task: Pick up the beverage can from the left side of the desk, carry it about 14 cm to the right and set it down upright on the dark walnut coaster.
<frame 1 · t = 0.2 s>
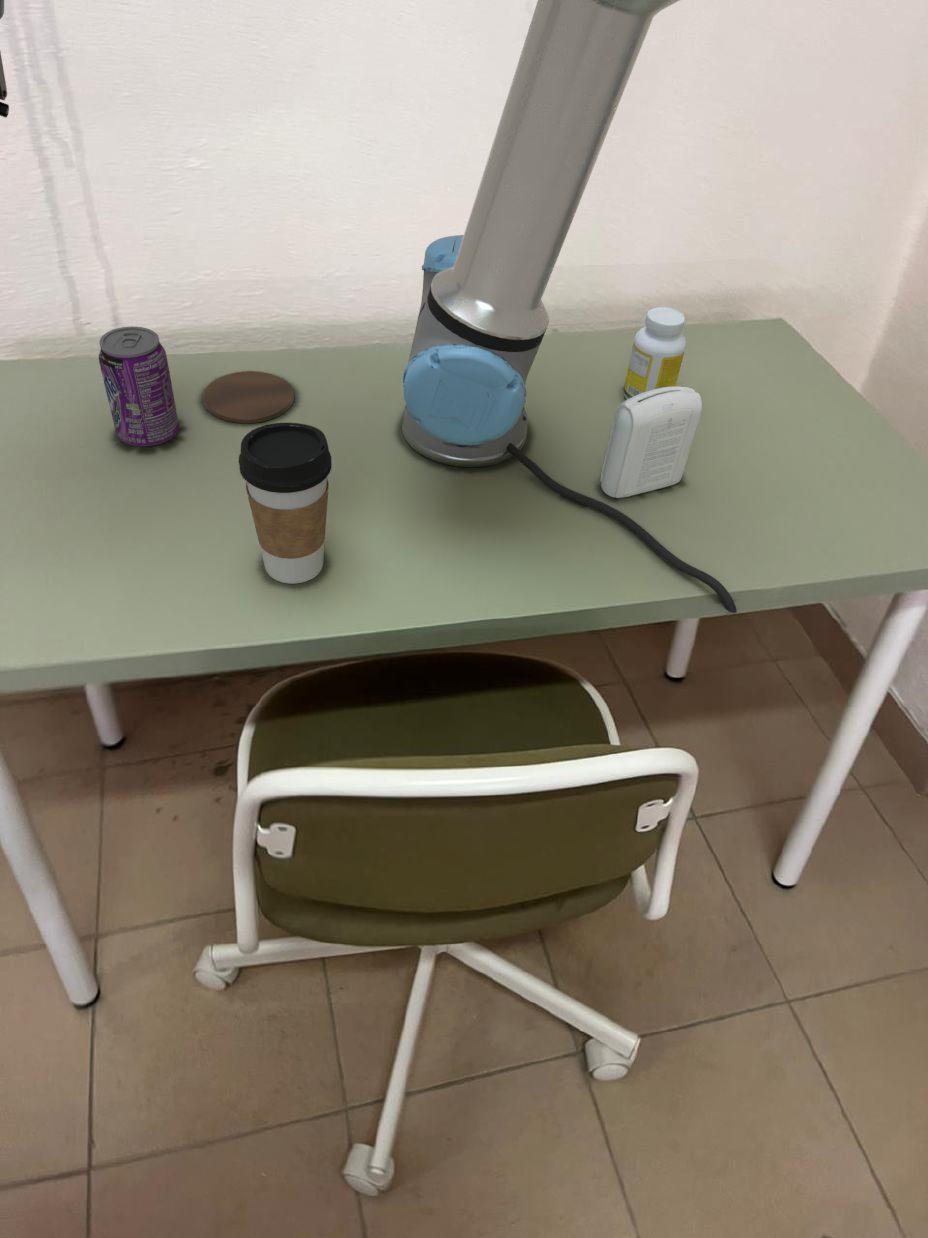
beverage can: (149, 435, 107), on the table
coffee cup: (294, 565, 93), on the table
coaster: (249, 398, 114), on the table
photo printer: (639, 484, 107), on the table
pill bottle: (646, 399, 120), on the table
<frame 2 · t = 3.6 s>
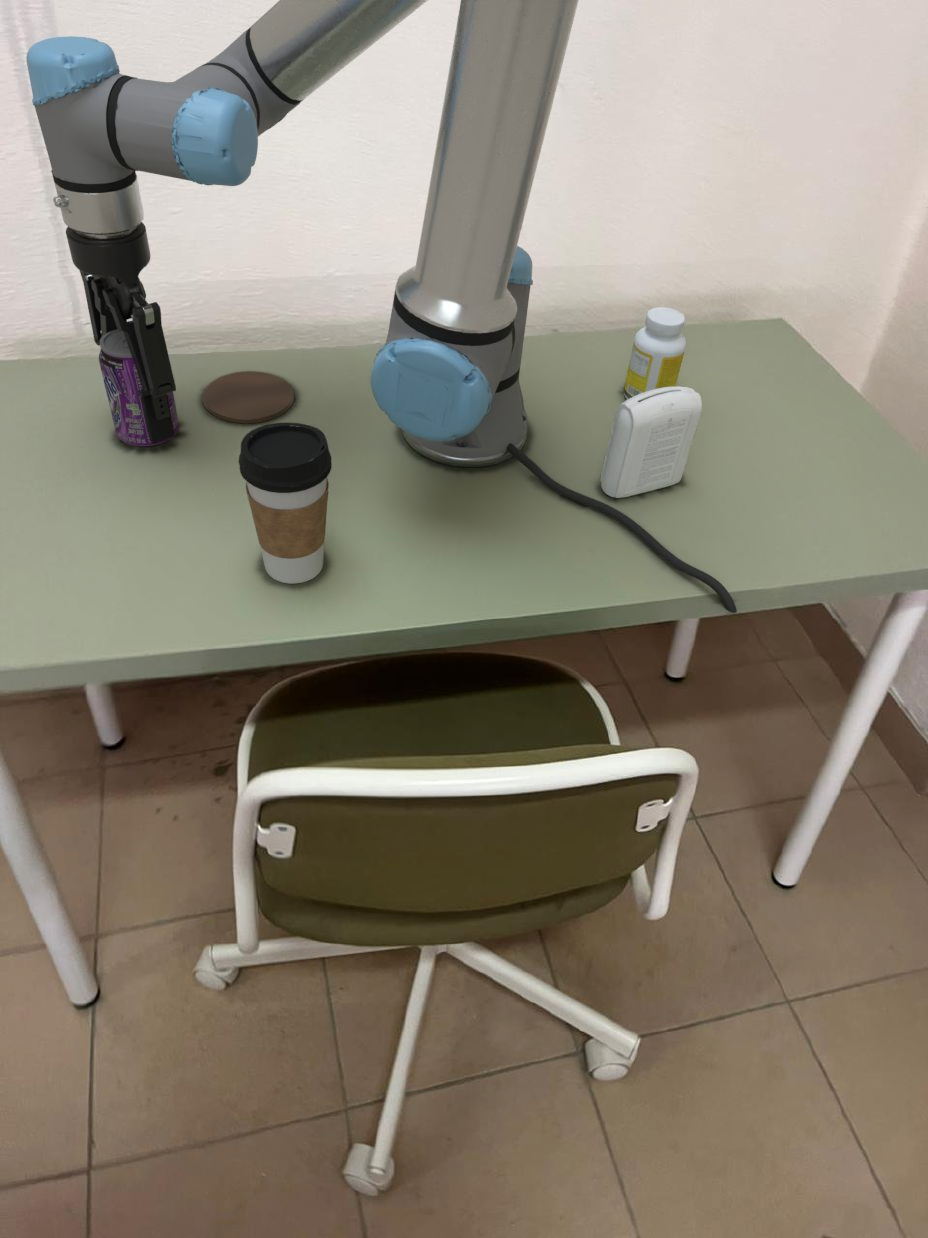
hand: (146, 422, 106), 2 cm above the table, tool pointing down, fingers closed on beverage can, 7 cm apart
beverage can: (149, 435, 107), on the table, touching gripper
everything else where it was.
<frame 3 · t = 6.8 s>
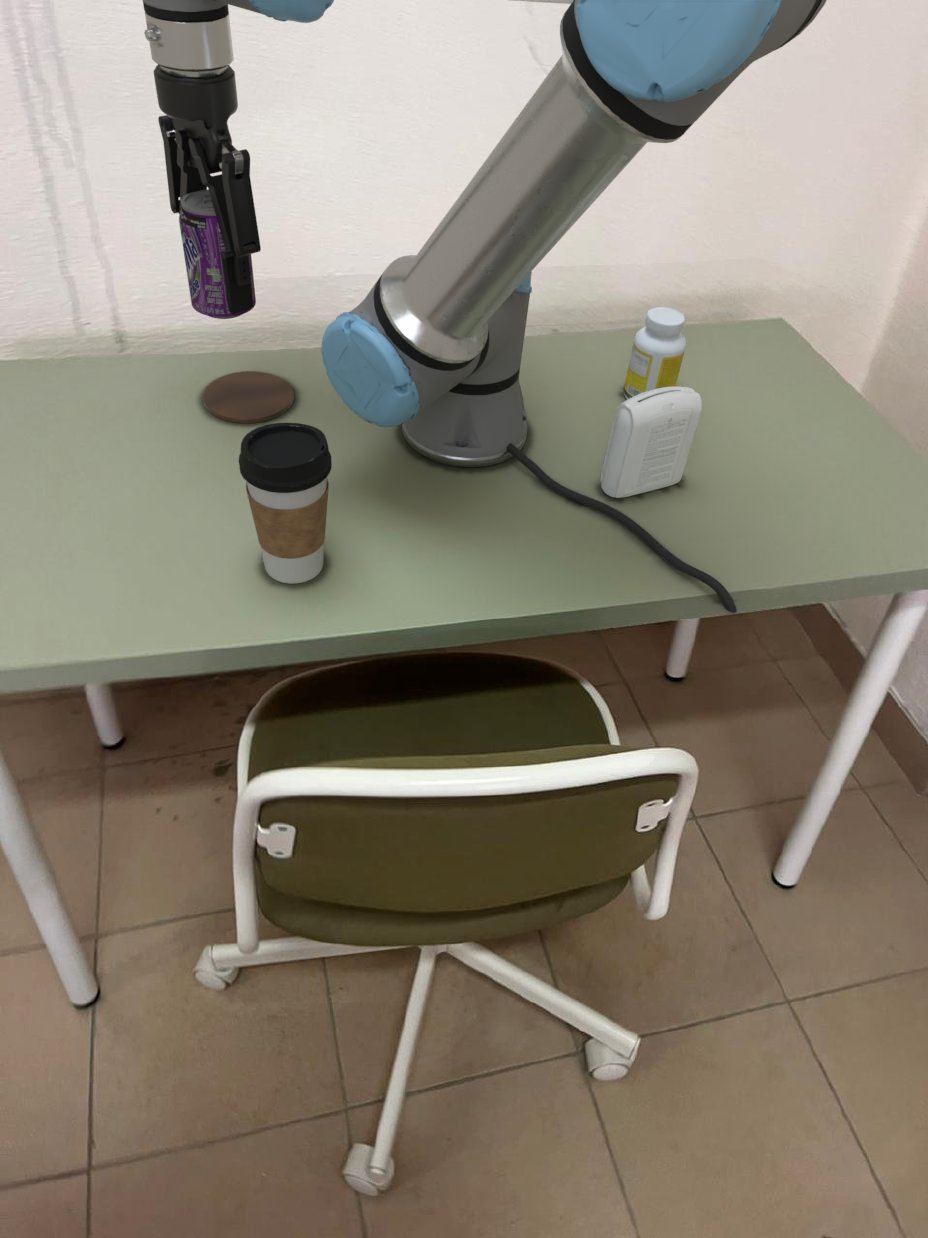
hand: (222, 295, 103), 14 cm above the table, tool pointing down, fingers closed on beverage can, 7 cm apart
beverage can: (224, 310, 104), point 12 cm above the table, touching gripper
everything else where it was.
when the fingers open (2 cm above the table, at t = 10.5 s): beverage can stays where it is, resting on coaster.
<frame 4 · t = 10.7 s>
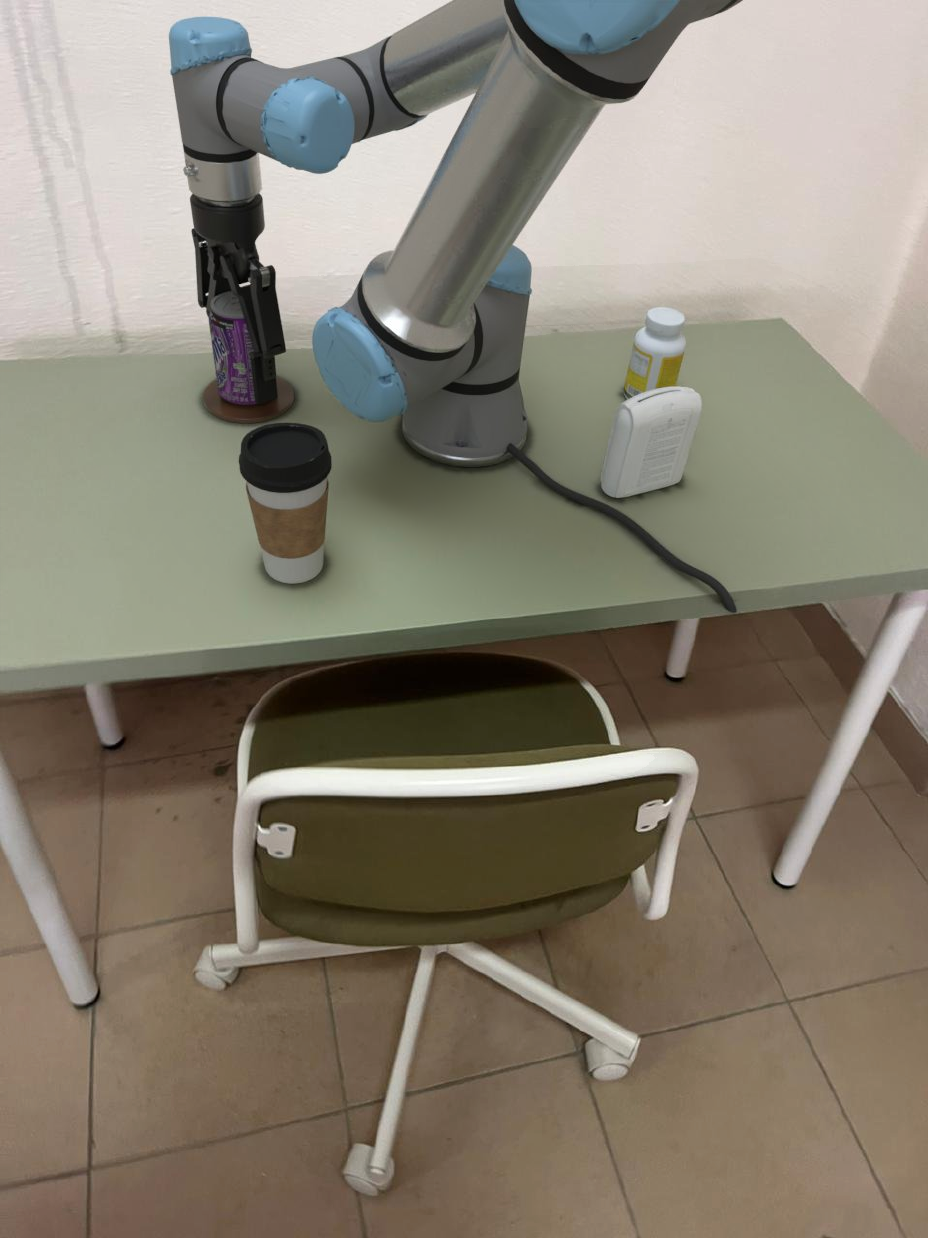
hand: (247, 383, 112), 2 cm above the table, tool pointing down, fingers open, 8 cm apart
beverage can: (248, 395, 113), resting on coaster
everything else where it was.
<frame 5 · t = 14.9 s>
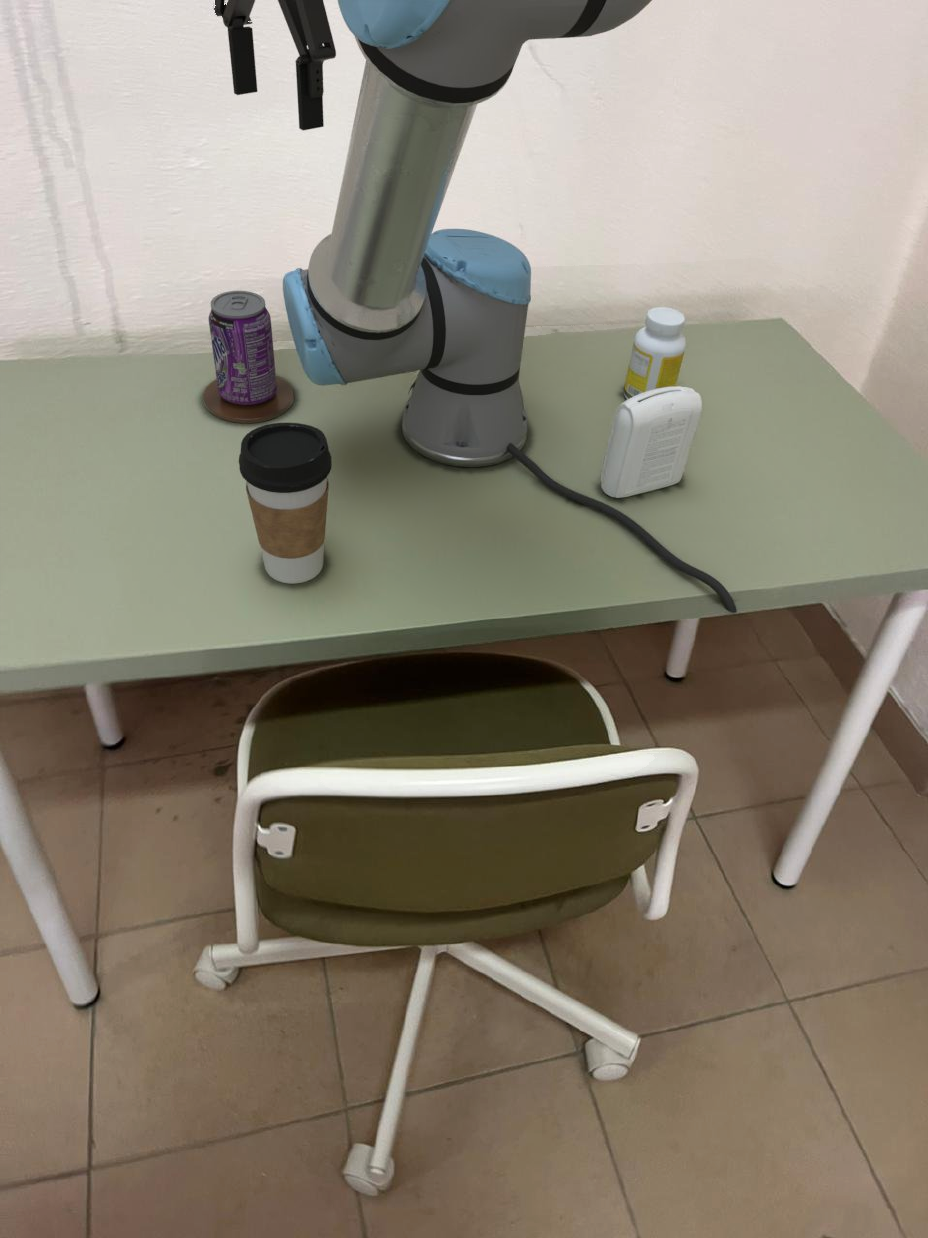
hand: (277, 109, 104), 29 cm above the table, tool pointing down, fingers open, 13 cm apart
nothing on the table moved.
at the end: beverage can inside the target area on the coaster (0.0 cm from its centre), point 0.4 cm above the coaster's base; beverage can tilted 0°; the gripper is holding nothing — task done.
